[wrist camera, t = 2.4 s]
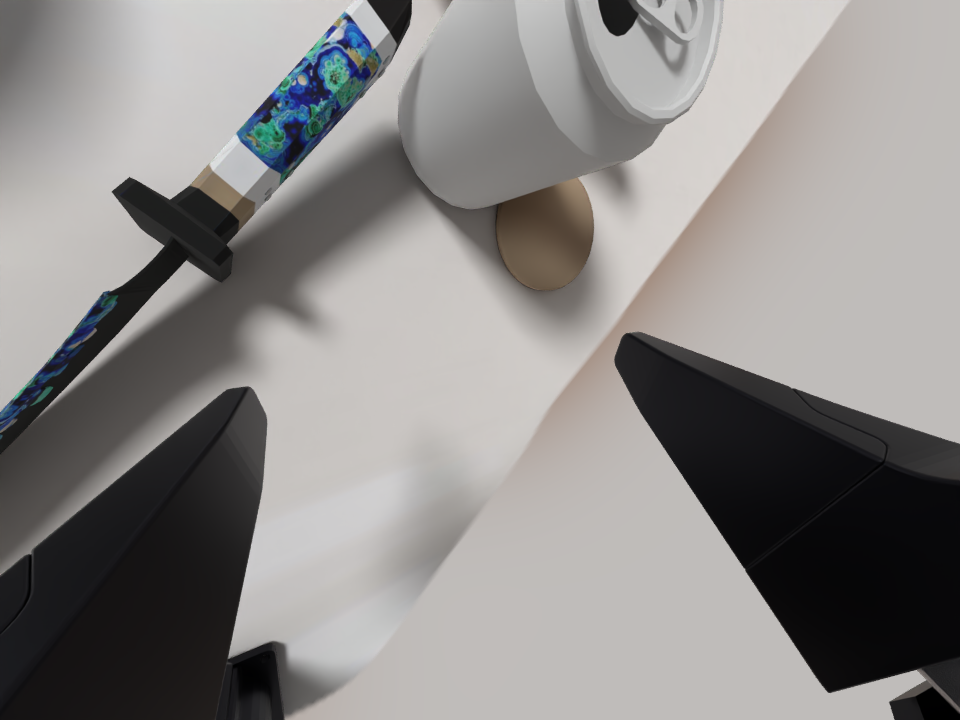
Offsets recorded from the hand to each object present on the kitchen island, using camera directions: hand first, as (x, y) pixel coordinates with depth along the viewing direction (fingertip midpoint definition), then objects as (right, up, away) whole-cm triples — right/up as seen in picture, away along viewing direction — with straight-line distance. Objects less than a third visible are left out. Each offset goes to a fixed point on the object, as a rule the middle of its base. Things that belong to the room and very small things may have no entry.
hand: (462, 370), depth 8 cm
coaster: (+5, +9, +15) cm, 18 cm away
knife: (-14, +2, +6) cm, 15 cm away
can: (-1, +12, +11) cm, 17 cm away
